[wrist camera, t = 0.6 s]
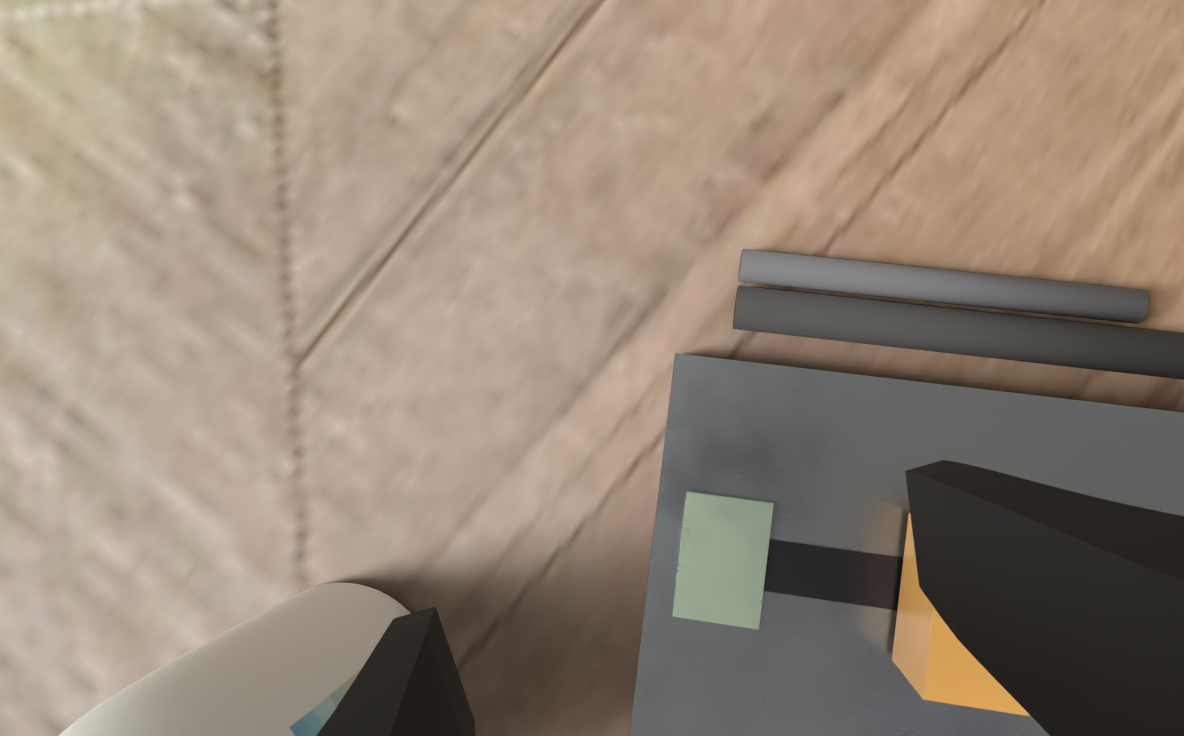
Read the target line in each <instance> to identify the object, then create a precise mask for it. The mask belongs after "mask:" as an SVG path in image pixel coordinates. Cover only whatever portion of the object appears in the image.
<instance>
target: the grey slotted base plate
mask: <svg viewBox="0 0 1184 736" xmlns="http://www.w3.org/2000/svg"><path fill="white" fill-rule="evenodd" d="M738 281H741V282H751V283H760V284H770V285H779V286H788V287H798V288H807V289H817V290H826V291H835V292H845V293H854V294H864V295H873V296H882V297H892V298H901V299H911V300H920V301H930V302H939V303H948V304H958V305H967V306H977V307H986V308H995V309H1005V310H1014V311H1024V312H1033V313H1042V314H1052V315H1061V316H1071V317H1080V318H1090V319H1099V320H1108V321H1118V322H1127V323H1140V322H1141V321H1142V320H1143V319H1144V318H1145V316H1146V314H1147V312H1148V308H1149V296H1148V293H1147V292H1146V291H1145V290H1141V289H1131V288H1121V287H1112V286H1102V285H1092V284H1082V283H1072V282H1063V281H1053V280H1043V279H1033V278H1023V277H1014V276H1004V275H994V274H984V273H974V272H965V271H955V270H945V269H935V268H925V267H916V266H906V265H896V264H886V263H876V262H866V261H857V260H847V259H837V258H827V257H817V256H808V255H798V254H788V253H778V252H768V251H759V250H749V249H742V254H741V260H740V267H739V277H738ZM733 329H740V330H749V331H758V332H767V333H776V334H785V335H793V336H802V337H811V338H820V339H829V340H838V341H847V342H856V343H864V344H873V345H882V346H891V347H900V348H909V349H918V350H927V351H936V352H944V353H953V354H962V355H971V356H980V357H989V358H998V359H1007V360H1015V361H1024V362H1033V363H1042V364H1051V365H1060V366H1069V367H1078V368H1087V369H1095V370H1104V371H1113V372H1122V373H1131V374H1140V375H1149V376H1158V377H1167V378H1175V379H1184V333H1178V332H1169V331H1159V330H1150V329H1141V328H1131V327H1122V326H1113V325H1103V324H1094V323H1084V322H1075V321H1066V320H1056V319H1047V318H1038V317H1028V316H1019V315H1010V314H1000V313H991V312H982V311H972V310H963V309H953V308H944V307H935V306H925V305H916V304H907V303H897V302H888V301H879V300H869V299H860V298H850V297H841V296H832V295H822V294H813V293H804V292H794V291H785V290H776V289H766V288H757V287H747V286H738V289H737V295H736V301H735V309H734V319H733Z"/></svg>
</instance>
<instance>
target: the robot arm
mask: <svg viewBox="0 0 1184 736" xmlns="http://www.w3.org/2000/svg"><path fill="white" fill-rule="evenodd" d="M905 474H906V482H907V491H908V499H909V507H910V515H911V523H912V531H913V540H914V548H915V556H916V564H917V572H918V581H919V587H920V588H921V590H922V591H923V593H924V594H925V595H926V597H927V598H928V600H929V601H930V603H931V604H932V605H933V607H934V608H935V610H936V611H937V612H938V614H939V615H940V617H941V618H942V619H943V621H944V622H945V623H946V625H947V626H948V627H949V628H950V630H951V631H952V632H953V634H954V635H955V636H956V638H957V639H958V640H959V641H960V642H961V644H962V645H963V646H964V647H965V648H966V649H967V650H968V651H969V652H970V653H971V654H972V655H973V656H974V657H975V658H976V660H977V661H978V662H979V663H980V664H981V665H982V666H983V667H984V668H985V669H986V670H987V671H988V672H989V673H990V674H991V675H992V676H993V677H994V678H995V679H996V680H997V682H998V683H999V684H1000V685H1001V686H1002V687H1003V688H1004V689H1005V690H1006V691H1007V692H1008V693H1009V694H1010V695H1011V696H1012V697H1013V698H1014V699H1015V700H1016V701H1017V702H1018V703H1019V704H1020V705H1021V706H1022V707H1023V708H1024V709H1025V710H1026V711H1027V712H1028V713H1029V714H1030V715H1031V716H1032V718H1033V719H1034V720H1035V721H1036V722H1037V723H1038V724H1039V725H1040V726H1041V727H1042V728H1043V729H1044V730H1045V731H1046V732H1047V733H1048V734H1049V735H1050V736H1184V516H1181V515H1175V514H1170V513H1165V512H1160V511H1156V510H1151V509H1146V508H1141V507H1137V506H1132V505H1127V504H1123V503H1118V502H1114V501H1109V500H1105V499H1101V498H1097V497H1093V496H1089V495H1085V494H1081V493H1077V492H1073V491H1069V490H1065V489H1061V488H1057V487H1053V486H1049V485H1046V484H1042V483H1038V482H1034V481H1031V480H1027V479H1023V478H1019V477H1015V476H1012V475H1008V474H1004V473H1000V472H997V471H993V470H989V469H985V468H981V467H977V466H972V465H968V464H964V463H959V462H953V461H947V460H941V461H938V462H934V463H931V464H927V465H924V466H920V467H917V468H913V469H910V470H907V471H905ZM316 736H476V733H475V724H474V718H473V715H472V712H471V710H470V707H469V704H468V701H467V698H466V695H465V692H464V689H463V686H462V683H461V680H460V677H459V674H458V671H457V668H456V666H455V663H454V660H453V657H452V654H451V651H450V648H449V645H448V642H447V639H446V636H445V633H444V630H443V627H442V625H441V622H440V619H439V616H438V613H437V610H436V607H432V608H428V609H425V610H421V611H418V612H414V613H411V614H407V615H404V616H400V617H397V618H394V619H393V620H392V622H391V623H390V625H389V626H388V628H387V629H386V631H385V633H384V634H383V636H382V637H381V639H380V640H379V642H378V644H377V645H376V647H375V648H374V650H373V652H372V653H371V655H370V656H369V658H368V659H367V661H366V663H365V664H364V666H363V667H362V669H361V671H360V672H359V674H358V675H357V677H356V678H355V680H354V682H353V683H352V685H351V686H350V688H349V689H348V691H347V692H346V694H345V695H344V697H343V698H342V700H341V701H340V703H339V704H338V706H337V707H336V709H335V710H334V712H333V713H332V715H331V716H330V718H329V719H328V720H327V722H326V723H325V724H324V726H323V727H322V728H321V730H320V731H319V732H318V734H317V735H316Z"/></svg>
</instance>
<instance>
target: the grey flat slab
mask: <svg viewBox="0 0 1184 736" xmlns="http://www.w3.org/2000/svg"><path fill="white" fill-rule="evenodd" d="M941 460H947V461H953V462H959V463H964V464H968V465H972V466H977V467H981V468H985V469H989V470H993V471H997V472H1000V473H1004V474H1008V475H1012V476H1015V477H1019V478H1023V479H1027V480H1031V481H1034V482H1038V483H1042V484H1046V485H1049V486H1053V487H1057V488H1061V489H1065V490H1069V491H1073V492H1077V493H1081V494H1085V495H1089V496H1093V497H1097V498H1101V499H1105V500H1109V501H1114V502H1118V503H1123V504H1127V505H1132V506H1137V507H1141V508H1146V509H1151V510H1156V511H1160V512H1165V513H1170V514H1175V515H1181V516H1184V413H1183V412H1175V411H1166V410H1158V409H1149V408H1140V407H1132V406H1123V405H1115V404H1106V403H1098V402H1089V401H1080V400H1072V399H1063V398H1055V397H1046V396H1038V395H1029V394H1020V393H1012V392H1003V391H995V390H986V389H978V388H969V387H960V386H952V385H943V384H935V383H926V382H918V381H909V380H900V379H892V378H883V377H875V376H866V375H858V374H849V373H840V372H832V371H823V370H815V369H806V368H798V367H789V366H780V365H772V364H763V363H755V362H746V361H738V360H729V359H720V358H712V357H703V356H695V355H686V354H678V353H675V360H674V368H673V376H672V385H671V393H670V401H669V409H668V418H667V426H666V434H665V443H664V451H663V459H662V468H661V476H660V484H659V493H658V501H657V509H656V518H655V526H654V534H653V543H652V551H651V559H650V568H649V576H648V584H647V593H646V601H645V609H644V618H643V626H642V634H641V643H640V651H639V659H638V668H637V676H636V684H635V693H634V701H633V709H632V718H631V726H630V734H629V736H1050V735H1049V734H1048V733H1047V732H1046V731H1045V730H1044V729H1043V728H1042V727H1041V726H1040V725H1039V724H1038V723H1037V722H1036V721H1035V720H1034V719H1033V718H1032V716H1031V715H1030V714H1029V716H1025V715H1019V714H1012V713H1006V712H999V711H993V710H987V709H980V708H974V707H968V706H961V705H955V704H949V703H942V702H936V701H930V700H923V699H922V697H921V696H920V695H919V694H918V692H917V691H916V690H915V689H914V687H913V686H912V685H911V683H910V682H909V681H908V680H907V678H906V677H905V676H904V675H903V673H902V672H901V671H900V669H899V668H898V667H897V666H896V664H895V663H894V662H893V661H892V653H893V645H894V636H895V627H896V619H897V610H898V602H899V593H900V584H901V576H902V567H903V558H904V550H905V541H906V533H907V524H908V515H909V513H910V507H909V499H908V491H907V482H906V474H905V471H907V470H910V469H913V468H917V467H920V466H924V465H927V464H931V463H934V462H938V461H941Z"/></svg>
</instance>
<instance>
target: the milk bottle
mask: <svg viewBox="0 0 1184 736" xmlns="http://www.w3.org/2000/svg"><path fill="white" fill-rule="evenodd" d="M407 614H411V613H410V612H409V611H408V610H407V609H406V608H405V607H404V606H402V605H401V604H400V603H399V602H398V601H396V600H395V599H393V598H391V597H390V596H388V595H387V594H385V593H383V592H381V591H378V590H376V589H373V588H371V587H368V586H364V585H360V584H353V583H329V584H323V585H319V586H315V587H312V588H310V589H307V590H304V591H302V592H300V593H298V594H296V595H293V596H291V597H289V598H287V599H285V600H284V601H282V602H280V603H278V604H276V605H274V606H272V607H270V608H268V609H267V610H265V611H263V612H261V613H259V614H257V615H255V616H253V617H251V618H250V619H248V620H246V621H244V622H242V623H240V624H238V625H237V626H235V627H233V628H231V629H229V630H227V631H225V632H224V633H222V634H220V635H218V636H216V637H214V638H212V639H211V640H209V641H207V642H205V643H203V644H201V645H200V646H198V647H196V648H194V649H192V650H191V651H189V652H187V653H185V654H183V655H182V656H180V657H178V658H176V659H174V660H172V661H171V662H169V663H167V664H165V665H163V666H162V667H160V668H158V669H156V670H154V671H153V672H151V673H149V674H147V675H146V676H144V677H142V678H141V679H139V680H137V681H136V682H134V683H133V684H131V685H129V686H128V687H126V688H124V689H123V690H121V691H119V692H118V693H116V694H114V695H113V696H111V697H110V698H108V699H106V700H105V701H103V702H102V703H100V704H98V705H97V706H95V707H94V708H93V709H91V710H90V711H89V712H88V713H86V714H85V715H84V716H82V717H81V718H80V719H78V720H77V721H76V722H74V723H73V724H72V725H71V726H69V727H68V728H67V729H66V730H64V731H63V732H62V733H61V734H60V735H59V736H316V735H317V734H318V732H319V731H320V730H321V728H322V727H323V726H324V724H325V723H326V722H327V720H328V719H329V718H330V716H331V715H332V713H333V712H334V710H335V709H336V707H337V706H338V704H339V703H340V701H341V700H342V698H343V697H344V695H345V694H346V692H347V691H348V689H349V688H350V686H351V685H352V683H353V682H354V680H355V678H356V677H357V675H358V674H359V672H360V671H361V669H362V667H363V666H364V664H365V663H366V661H367V659H368V658H369V656H370V655H371V653H372V652H373V650H374V648H375V647H376V645H377V644H378V642H379V640H380V639H381V637H382V636H383V634H384V633H385V631H386V629H387V628H388V626H389V625H390V623H391V622H392V620H393V619H394V618H397V617H400V616H404V615H407Z"/></svg>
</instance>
